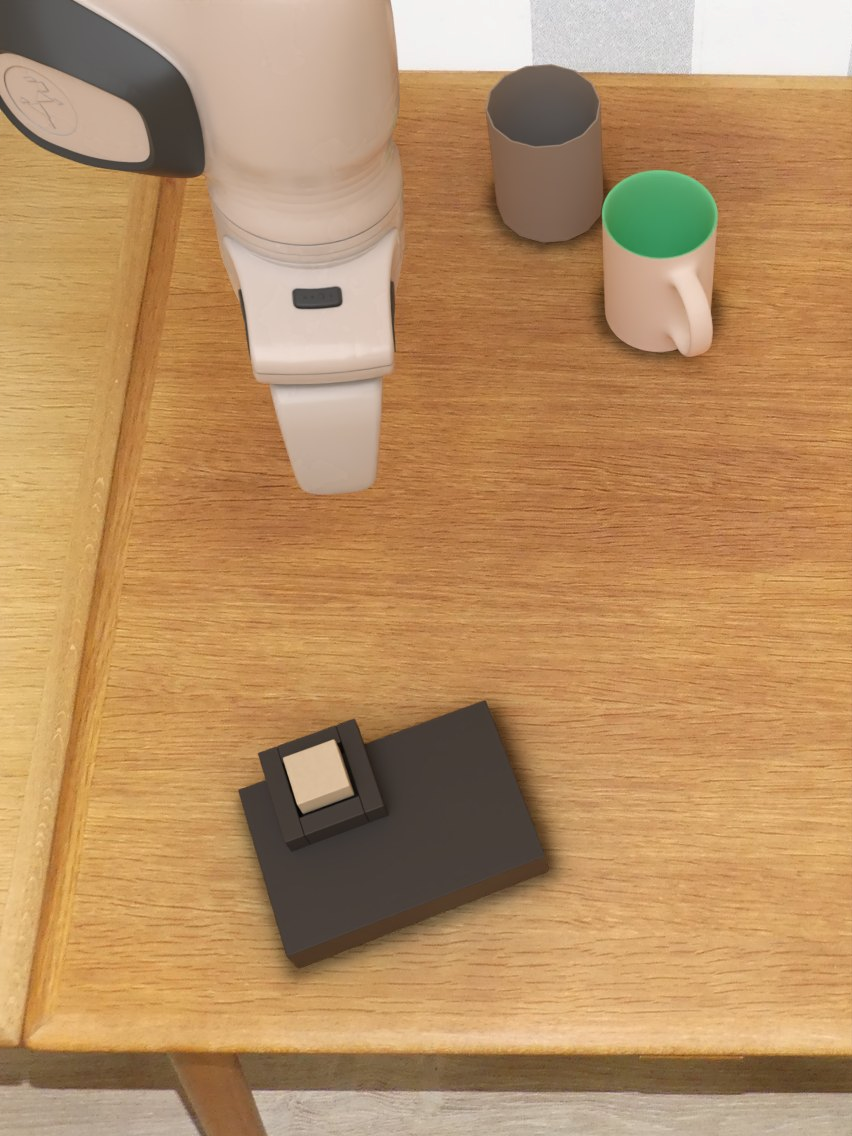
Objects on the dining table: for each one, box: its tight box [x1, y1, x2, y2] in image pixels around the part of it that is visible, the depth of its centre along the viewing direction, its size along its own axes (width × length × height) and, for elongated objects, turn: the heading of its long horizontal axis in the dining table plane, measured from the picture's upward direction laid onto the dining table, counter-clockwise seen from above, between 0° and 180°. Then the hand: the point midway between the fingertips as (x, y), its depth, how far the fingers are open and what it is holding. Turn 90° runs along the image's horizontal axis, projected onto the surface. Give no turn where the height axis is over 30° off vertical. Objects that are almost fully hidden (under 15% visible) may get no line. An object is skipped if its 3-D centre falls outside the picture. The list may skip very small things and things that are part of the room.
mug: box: [601, 169, 719, 358], centre depth 103 cm, size 12×8×10 cm, turn 26°
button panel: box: [238, 699, 549, 970], centre depth 88 cm, size 12×16×5 cm
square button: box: [283, 740, 354, 814], centre depth 86 cm, size 3×3×2 cm
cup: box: [484, 63, 604, 243], centre depth 109 cm, size 8×8×10 cm
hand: (331, 399), depth 80 cm, fingers open, 8 cm apart
